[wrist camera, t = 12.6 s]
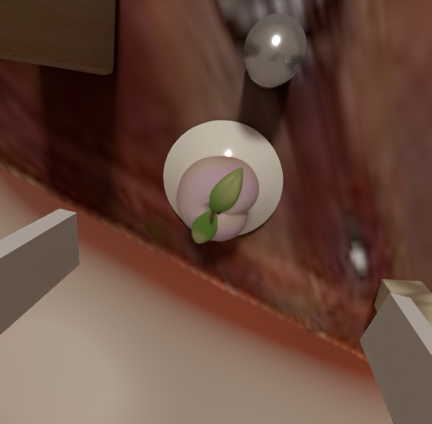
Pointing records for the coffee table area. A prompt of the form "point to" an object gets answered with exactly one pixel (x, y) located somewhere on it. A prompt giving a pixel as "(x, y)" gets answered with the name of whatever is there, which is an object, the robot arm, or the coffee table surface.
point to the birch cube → (407, 295)
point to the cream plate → (232, 147)
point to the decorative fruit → (216, 197)
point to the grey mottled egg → (274, 50)
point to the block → (59, 33)
